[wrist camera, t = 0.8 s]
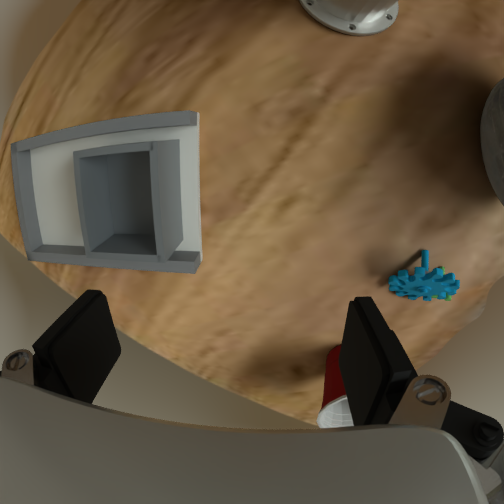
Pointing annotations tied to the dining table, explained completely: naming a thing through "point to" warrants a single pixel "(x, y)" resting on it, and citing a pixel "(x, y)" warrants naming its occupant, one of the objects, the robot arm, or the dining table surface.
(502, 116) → the bowl
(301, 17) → the dining table surface
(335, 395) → the plastic cup
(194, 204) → the bay
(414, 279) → the gear
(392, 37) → the dining table surface
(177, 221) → the crate
